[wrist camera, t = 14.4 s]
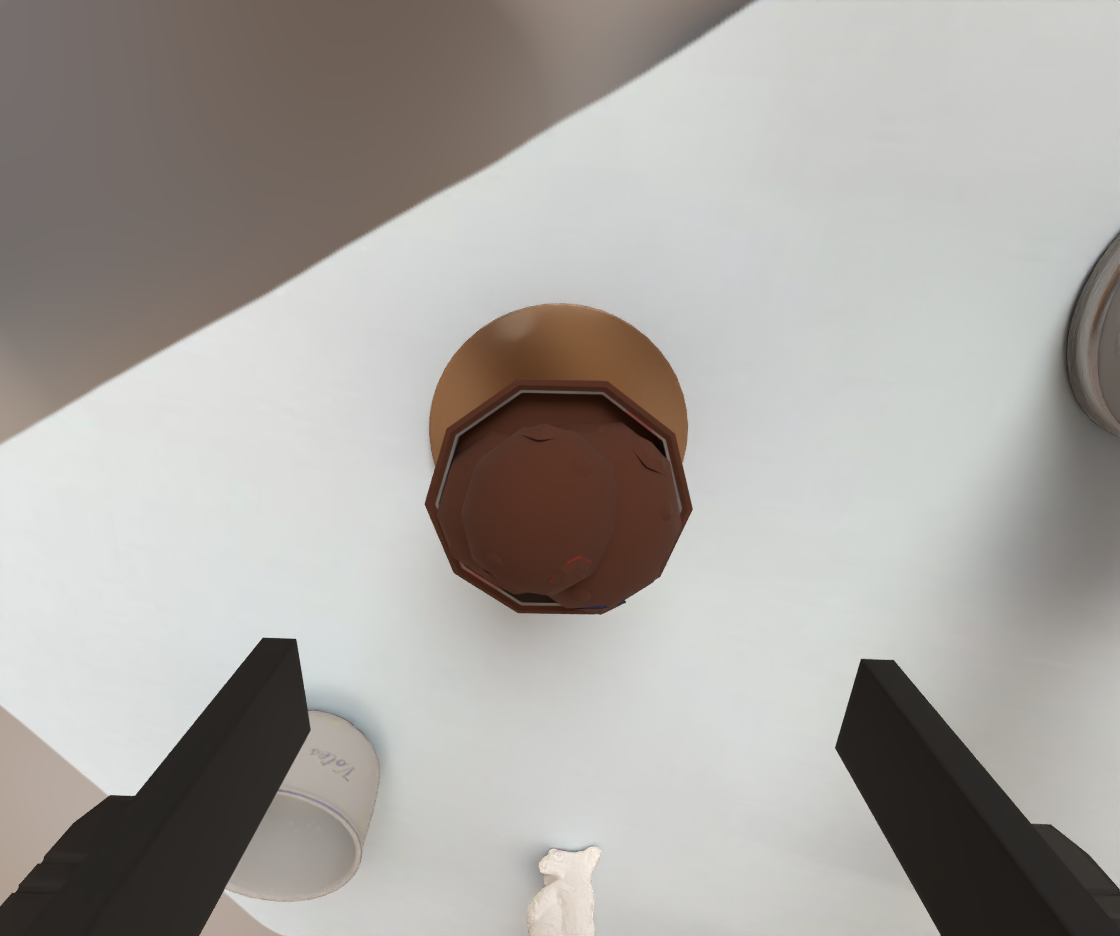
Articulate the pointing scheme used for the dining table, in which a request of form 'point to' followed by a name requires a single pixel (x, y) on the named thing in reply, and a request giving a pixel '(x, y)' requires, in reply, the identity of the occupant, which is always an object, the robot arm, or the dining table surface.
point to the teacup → (314, 818)
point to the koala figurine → (564, 895)
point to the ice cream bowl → (559, 496)
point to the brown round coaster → (558, 364)
